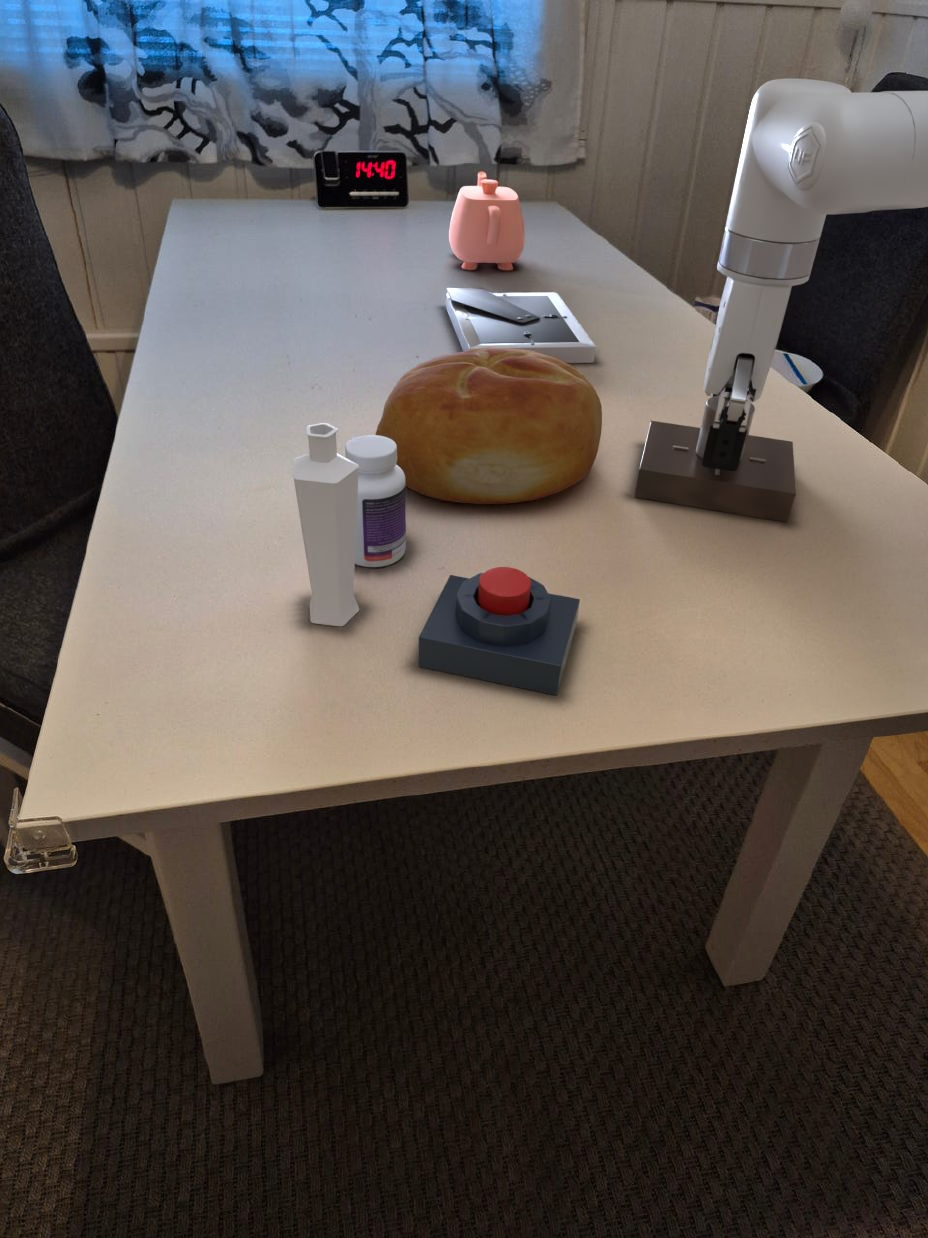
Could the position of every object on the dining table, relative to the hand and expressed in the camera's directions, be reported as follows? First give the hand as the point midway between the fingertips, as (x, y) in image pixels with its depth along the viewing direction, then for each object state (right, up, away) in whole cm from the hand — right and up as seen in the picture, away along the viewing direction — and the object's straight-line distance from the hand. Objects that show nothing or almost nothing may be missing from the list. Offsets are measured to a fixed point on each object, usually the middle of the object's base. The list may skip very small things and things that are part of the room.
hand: (720, 446), depth 83 cm
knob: (0, -1, +1) cm, 1 cm away
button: (-22, -15, -21) cm, 34 cm away
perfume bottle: (-34, -16, -16) cm, 41 cm away
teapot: (-21, +41, +59) cm, 75 cm away
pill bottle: (-32, -11, -10) cm, 35 cm away
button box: (-22, -18, -19) cm, 34 cm away
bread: (-22, -1, +4) cm, 23 cm away
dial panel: (0, -3, +2) cm, 4 cm away
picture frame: (-18, +21, +33) cm, 43 cm away
